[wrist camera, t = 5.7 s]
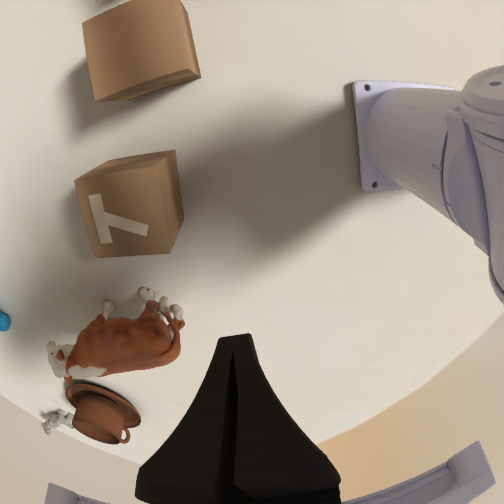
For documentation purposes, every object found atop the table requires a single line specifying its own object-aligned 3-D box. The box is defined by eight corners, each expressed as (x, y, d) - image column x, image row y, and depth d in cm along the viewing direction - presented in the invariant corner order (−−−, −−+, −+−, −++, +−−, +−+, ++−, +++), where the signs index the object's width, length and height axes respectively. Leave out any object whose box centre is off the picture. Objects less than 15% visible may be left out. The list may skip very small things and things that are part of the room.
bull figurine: (64, 299, 23) (29, 359, 16) (183, 275, 22) (164, 354, 15) (85, 330, 25) (59, 391, 18) (200, 315, 24) (191, 392, 17)
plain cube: (187, 13, 12) (171, -14, 8) (201, 77, 15) (188, 68, 11) (117, 37, 13) (81, 23, 8) (129, 99, 15) (95, 101, 11)
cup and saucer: (156, 405, 33) (150, 443, 28) (125, 424, 37) (119, 454, 32) (79, 365, 29) (64, 402, 23) (63, 391, 33) (52, 421, 27)
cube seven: (175, 149, 17) (154, 166, 13) (184, 218, 20) (169, 254, 15) (109, 160, 17) (73, 180, 13) (122, 223, 20) (94, 258, 15)
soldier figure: (88, 418, 39) (67, 439, 39) (75, 397, 41) (56, 420, 41) (59, 426, 32) (41, 446, 32) (46, 402, 34) (30, 425, 34)
